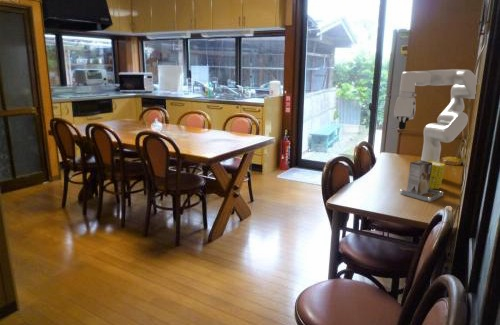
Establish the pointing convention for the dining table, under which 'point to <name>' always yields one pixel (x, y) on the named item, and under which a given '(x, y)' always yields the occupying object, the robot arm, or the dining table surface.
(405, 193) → the grey rod frame
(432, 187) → the food
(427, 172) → the coffee box
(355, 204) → the dining table surface
